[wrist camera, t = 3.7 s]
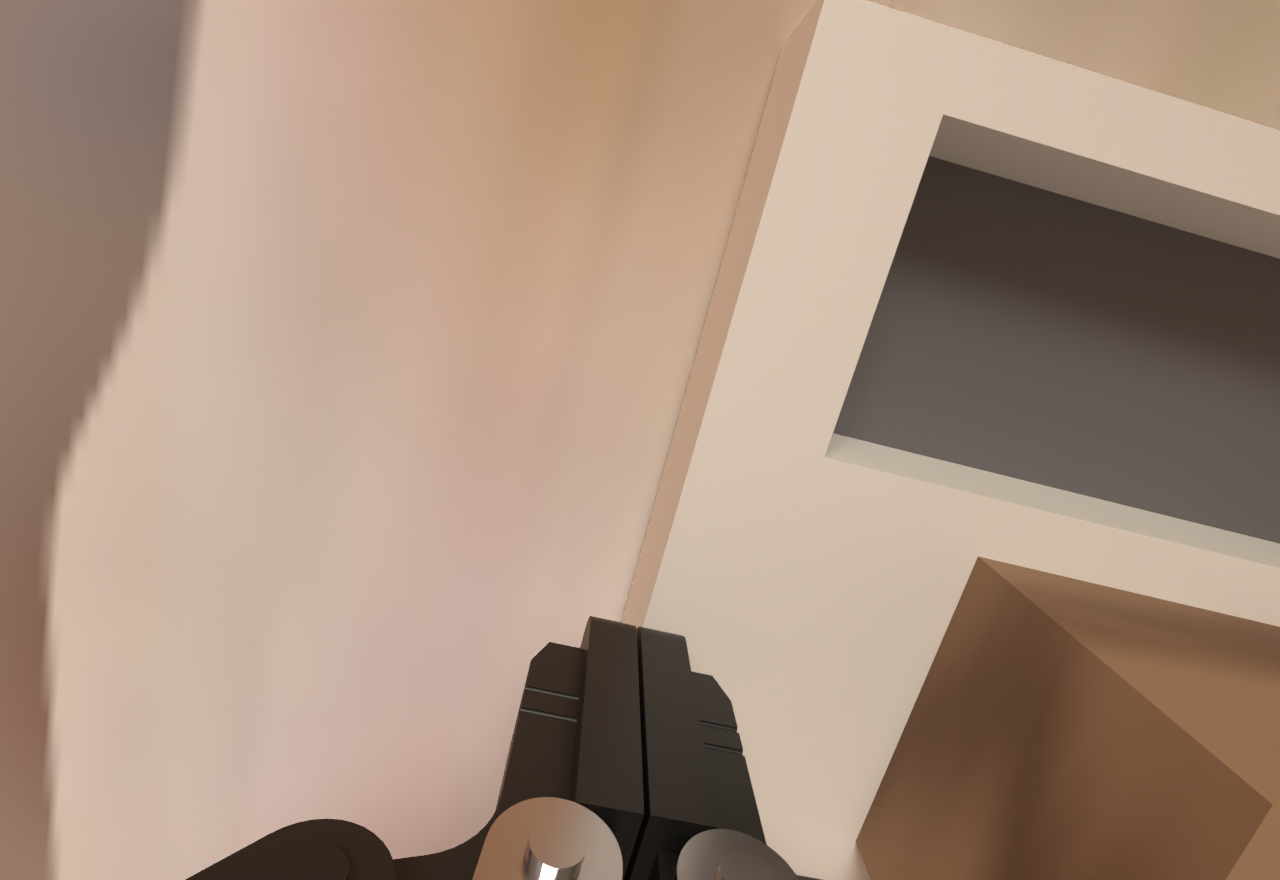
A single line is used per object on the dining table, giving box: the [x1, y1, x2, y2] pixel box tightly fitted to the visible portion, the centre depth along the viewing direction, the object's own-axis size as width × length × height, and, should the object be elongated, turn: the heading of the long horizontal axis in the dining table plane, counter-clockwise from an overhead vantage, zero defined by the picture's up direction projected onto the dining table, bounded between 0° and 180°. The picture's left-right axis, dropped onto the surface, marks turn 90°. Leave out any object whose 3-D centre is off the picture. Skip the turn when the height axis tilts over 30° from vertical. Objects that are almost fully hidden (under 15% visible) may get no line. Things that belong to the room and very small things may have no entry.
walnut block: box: [856, 556, 1280, 880], centre depth 9 cm, size 6×6×5 cm
